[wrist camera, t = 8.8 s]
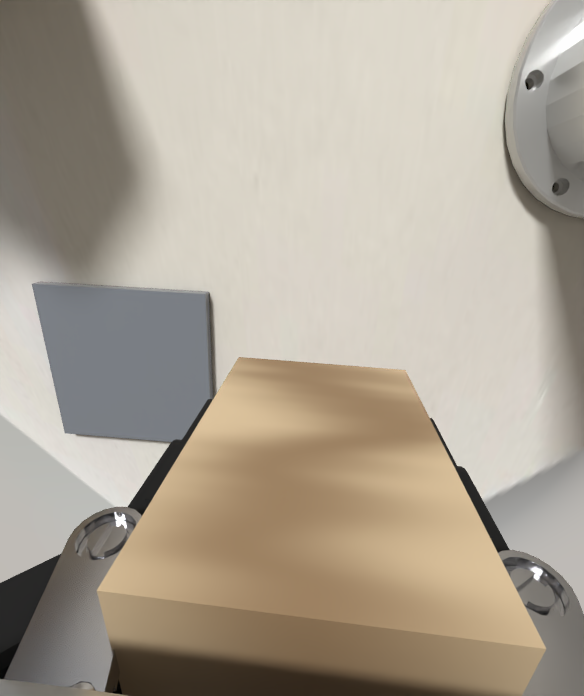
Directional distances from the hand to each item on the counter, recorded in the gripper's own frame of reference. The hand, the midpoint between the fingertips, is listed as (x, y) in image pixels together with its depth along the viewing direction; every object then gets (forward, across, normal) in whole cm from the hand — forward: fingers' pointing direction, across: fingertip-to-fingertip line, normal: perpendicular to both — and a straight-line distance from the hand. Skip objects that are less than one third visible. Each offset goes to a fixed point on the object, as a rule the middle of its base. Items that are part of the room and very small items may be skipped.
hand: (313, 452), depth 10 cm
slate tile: (+14, +14, +5) cm, 20 cm away
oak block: (+1, 0, 0) cm, 1 cm away
